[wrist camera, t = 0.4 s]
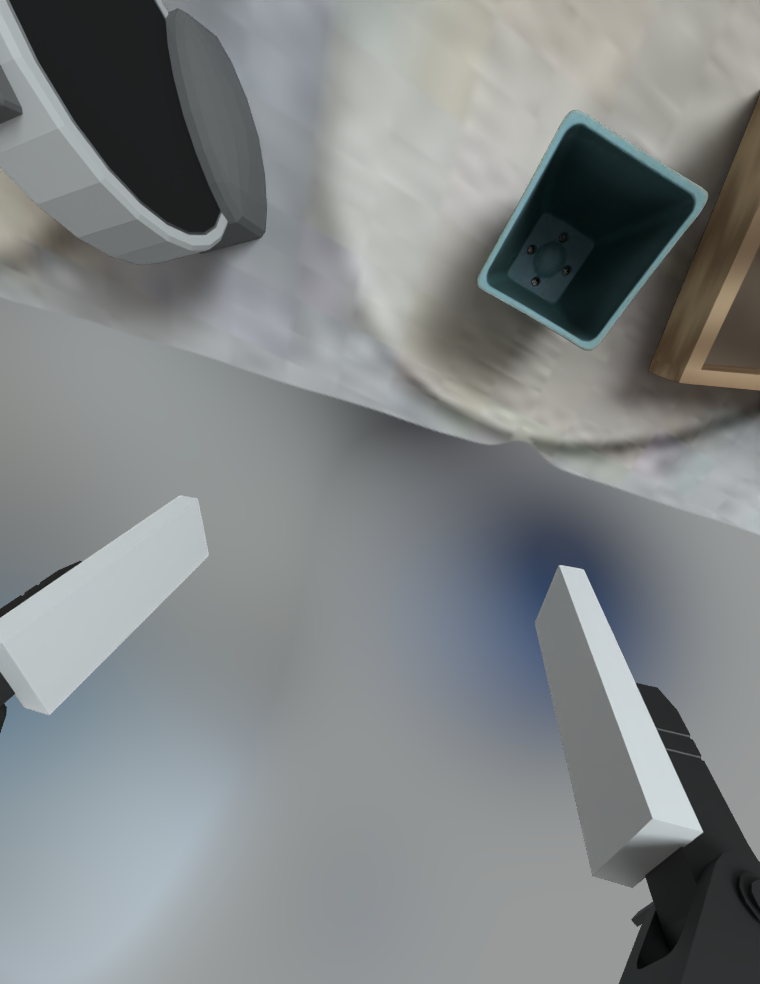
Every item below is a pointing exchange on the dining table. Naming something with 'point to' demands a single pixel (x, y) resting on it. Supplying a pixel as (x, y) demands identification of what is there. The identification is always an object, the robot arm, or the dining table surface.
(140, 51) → the alarm clock
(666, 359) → the cold frame
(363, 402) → the dining table surface
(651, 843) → the robot arm
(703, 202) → the flower pot
